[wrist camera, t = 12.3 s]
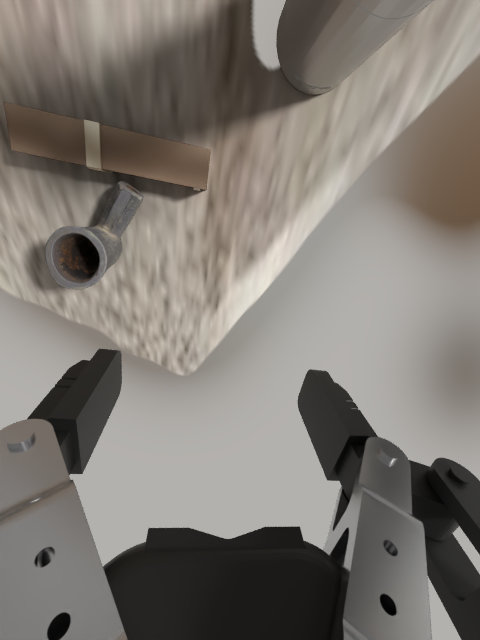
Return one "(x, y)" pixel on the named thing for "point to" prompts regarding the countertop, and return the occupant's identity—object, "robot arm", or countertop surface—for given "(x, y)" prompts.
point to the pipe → (92, 242)
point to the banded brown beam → (106, 147)
